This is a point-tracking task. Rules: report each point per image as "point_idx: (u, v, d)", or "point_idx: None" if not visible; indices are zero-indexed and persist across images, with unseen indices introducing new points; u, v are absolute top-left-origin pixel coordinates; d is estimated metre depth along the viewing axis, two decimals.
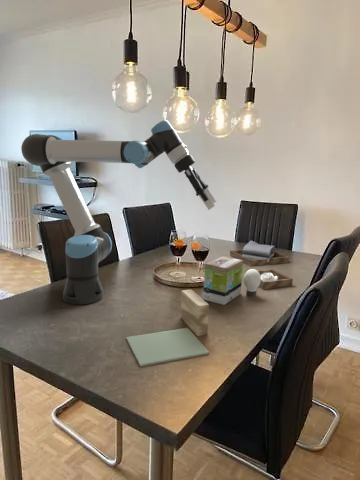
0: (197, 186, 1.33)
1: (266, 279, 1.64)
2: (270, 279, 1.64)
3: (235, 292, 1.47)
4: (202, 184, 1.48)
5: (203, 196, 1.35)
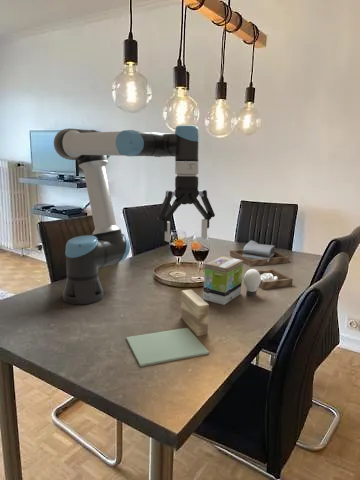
0: (160, 213, 1.19)
1: (266, 279, 1.64)
2: (270, 279, 1.64)
3: (235, 292, 1.47)
4: (202, 213, 1.25)
5: (162, 225, 1.21)
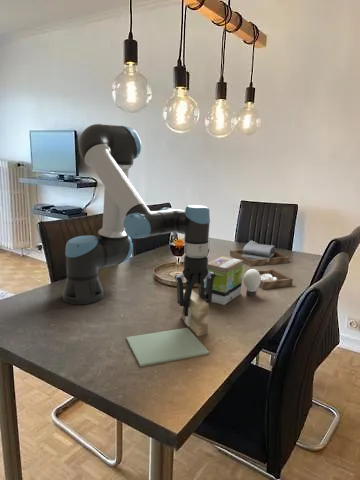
0: (179, 299, 1.19)
1: (265, 280, 1.63)
2: (269, 280, 1.63)
3: (235, 292, 1.47)
4: (201, 296, 1.21)
5: (183, 310, 1.20)
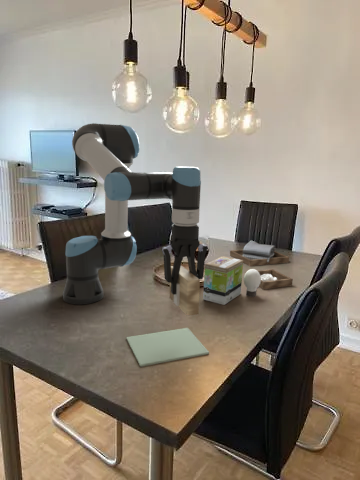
0: (166, 274, 1.04)
1: (265, 280, 1.62)
2: (269, 280, 1.63)
3: (235, 292, 1.47)
4: (191, 271, 1.06)
5: (171, 287, 1.06)
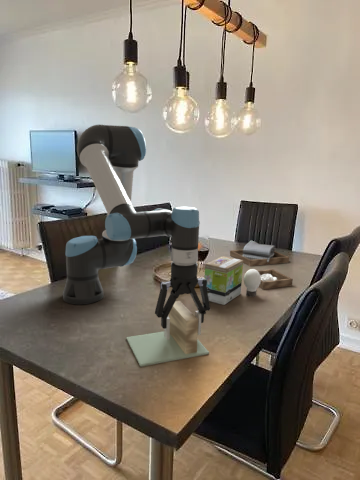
0: (157, 309, 1.05)
1: (265, 280, 1.62)
2: (269, 280, 1.63)
3: (235, 292, 1.47)
4: (197, 305, 1.09)
5: (161, 321, 1.07)
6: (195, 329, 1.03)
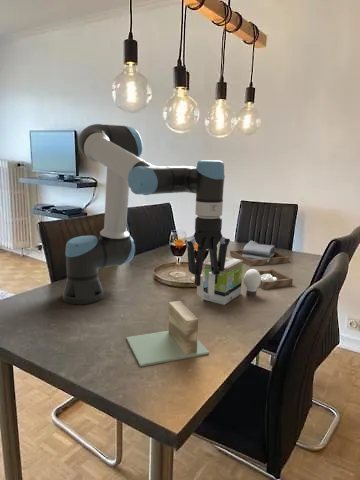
0: (190, 266, 1.06)
1: None
2: (269, 280, 1.63)
3: (235, 292, 1.47)
4: (213, 263, 1.08)
5: (195, 279, 1.08)
6: (195, 329, 1.03)
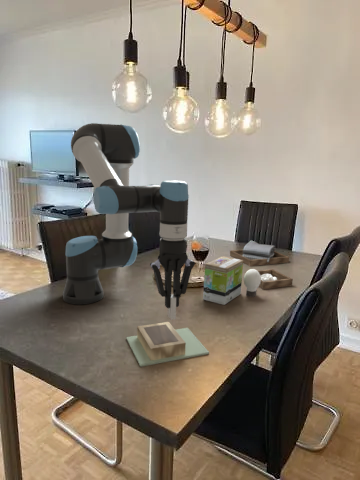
0: (159, 289, 1.04)
1: (266, 280, 1.62)
2: (270, 280, 1.63)
3: (235, 292, 1.47)
4: (175, 286, 1.05)
5: (165, 301, 1.06)
6: (161, 349, 1.01)
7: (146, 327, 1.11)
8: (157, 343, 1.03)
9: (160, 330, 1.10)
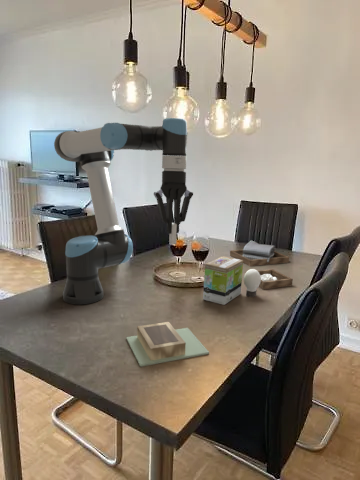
0: (161, 215, 1.19)
1: None
2: (270, 280, 1.63)
3: (235, 292, 1.47)
4: (175, 213, 1.20)
5: (167, 227, 1.21)
6: (161, 349, 1.01)
7: (146, 327, 1.11)
8: (157, 343, 1.03)
9: (160, 330, 1.10)
